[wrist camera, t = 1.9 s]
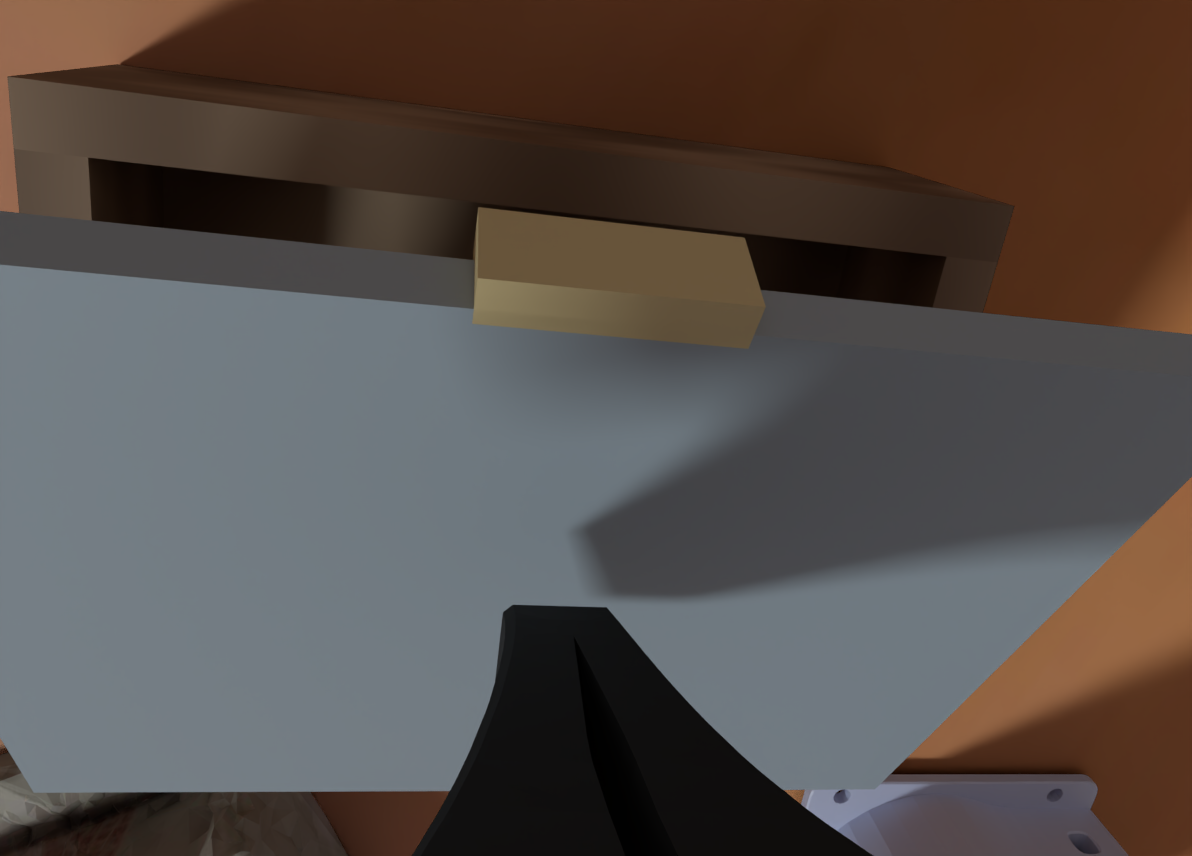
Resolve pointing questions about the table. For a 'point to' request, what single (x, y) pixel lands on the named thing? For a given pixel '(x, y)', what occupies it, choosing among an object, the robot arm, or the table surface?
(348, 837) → the table surface
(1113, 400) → the lid
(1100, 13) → the table surface
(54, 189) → the box
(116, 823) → the packaged product
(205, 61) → the table surface
